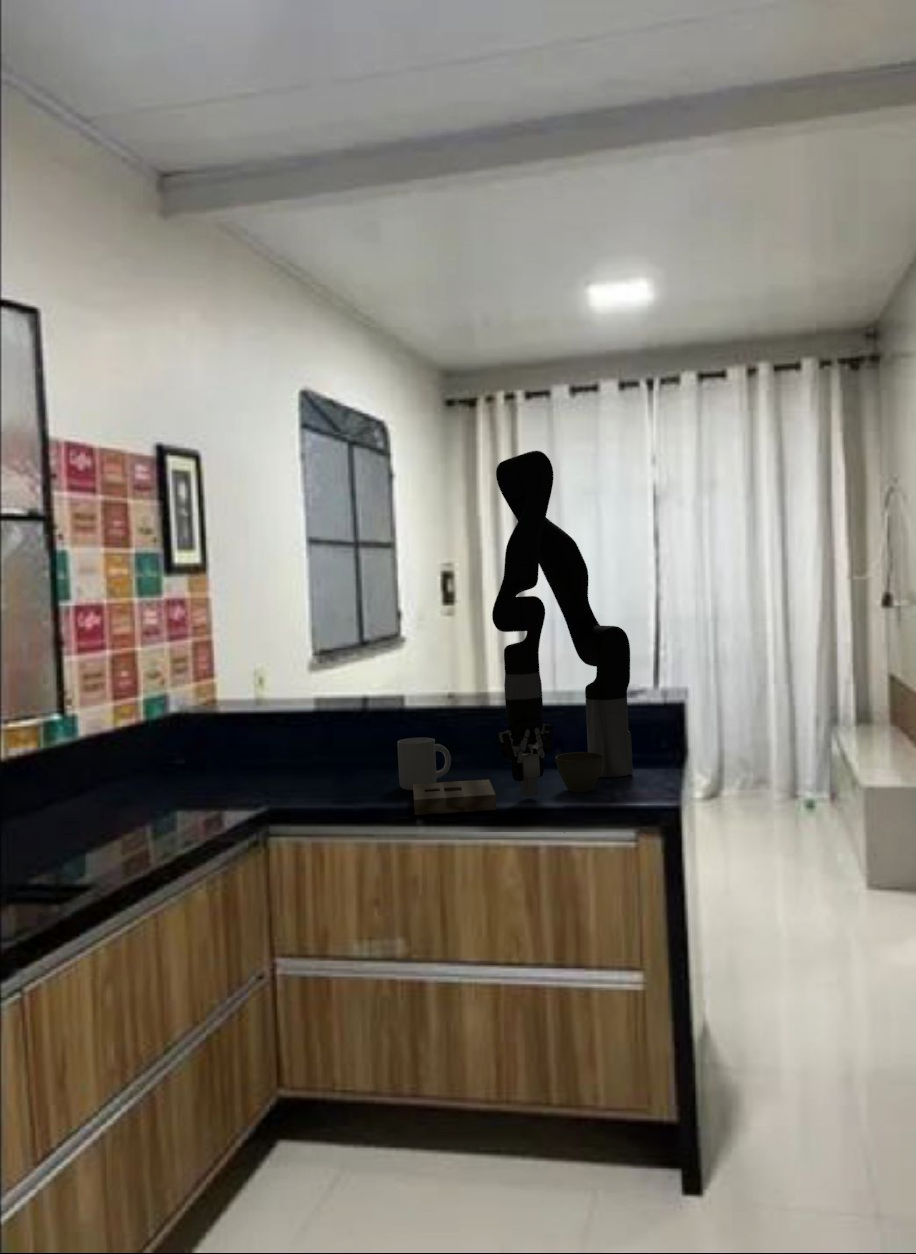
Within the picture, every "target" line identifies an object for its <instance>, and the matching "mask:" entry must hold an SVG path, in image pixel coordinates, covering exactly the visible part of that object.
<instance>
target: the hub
mask: <svg viewBox="0 0 916 1254" xmlns="http://www.w3.org/2000/svg"><path fill="white" fill-rule="evenodd" d="M412 792H413V808H414V815H415V816H419V815H423V816H424V815H433V814H434V815H436V814H437V815H438V814H450V813H467V812H481V811H482V812H483V811H484V812H486V811H497V795H496V794H497V793H496V792H495V790H494V788H493V785H492V783H491V781H490V779H478V780H477V779H476V780H473V779H472V780H460V781H459V780H458V781H443V782H437V783H424V784H413V790H412Z"/></svg>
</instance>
